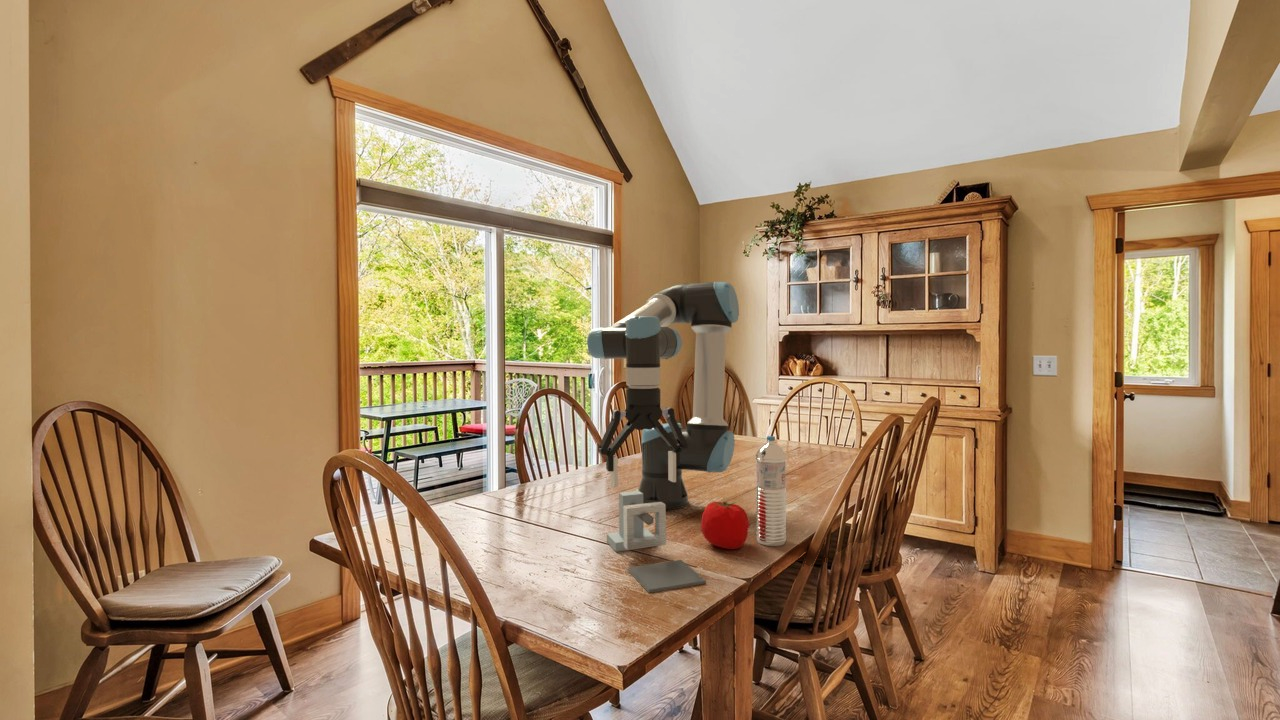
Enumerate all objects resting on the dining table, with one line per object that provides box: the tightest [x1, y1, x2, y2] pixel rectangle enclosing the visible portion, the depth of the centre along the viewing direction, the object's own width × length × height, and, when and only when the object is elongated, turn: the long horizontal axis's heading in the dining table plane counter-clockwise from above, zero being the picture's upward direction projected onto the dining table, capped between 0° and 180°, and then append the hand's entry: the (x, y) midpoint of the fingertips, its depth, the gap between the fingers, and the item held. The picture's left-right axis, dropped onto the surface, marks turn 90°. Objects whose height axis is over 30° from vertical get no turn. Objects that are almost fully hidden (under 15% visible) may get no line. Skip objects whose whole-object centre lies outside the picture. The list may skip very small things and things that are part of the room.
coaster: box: [627, 559, 707, 594], centre depth 121 cm, size 12×12×1 cm
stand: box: [606, 490, 655, 552], centre depth 137 cm, size 16×10×12 cm, turn 20°
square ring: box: [623, 502, 667, 551], centre depth 132 cm, size 9×2×9 cm, turn 110°
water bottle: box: [755, 435, 787, 547], centre depth 141 cm, size 7×7×25 cm
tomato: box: [700, 501, 750, 550], centre depth 139 cm, size 11×13×10 cm
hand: (643, 483), depth 132 cm, fingers open, 13 cm apart
